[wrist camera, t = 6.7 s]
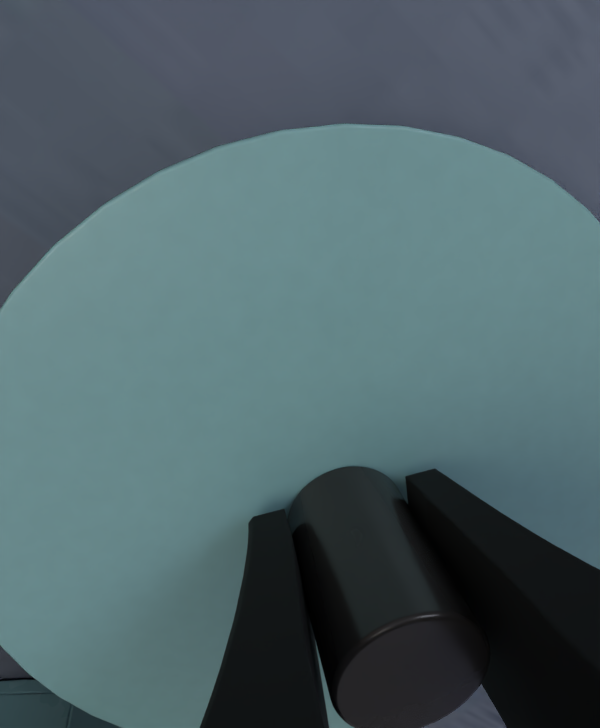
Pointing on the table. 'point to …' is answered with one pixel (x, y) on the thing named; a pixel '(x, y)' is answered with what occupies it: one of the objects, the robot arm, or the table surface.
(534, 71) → the table surface
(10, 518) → the lid
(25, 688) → the pot
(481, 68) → the table surface
